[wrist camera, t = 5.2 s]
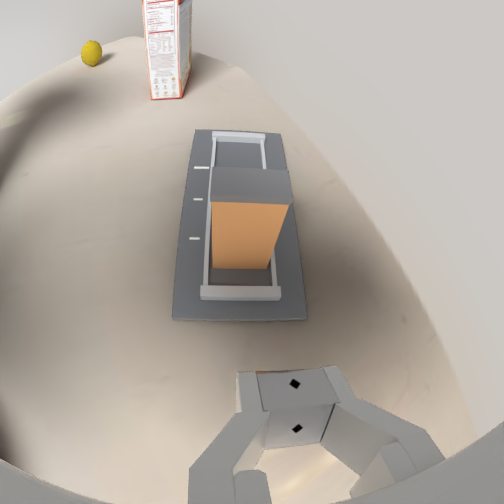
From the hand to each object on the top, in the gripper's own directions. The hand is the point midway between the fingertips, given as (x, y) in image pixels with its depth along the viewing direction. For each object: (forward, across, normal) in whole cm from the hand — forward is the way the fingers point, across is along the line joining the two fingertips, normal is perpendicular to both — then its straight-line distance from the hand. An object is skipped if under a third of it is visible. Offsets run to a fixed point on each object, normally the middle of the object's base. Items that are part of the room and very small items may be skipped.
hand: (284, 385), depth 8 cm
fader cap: (+20, 0, -2) cm, 20 cm away
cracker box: (+47, -12, +24) cm, 54 cm away
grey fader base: (+25, 0, +2) cm, 25 cm away
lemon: (+59, -37, +36) cm, 78 cm away
